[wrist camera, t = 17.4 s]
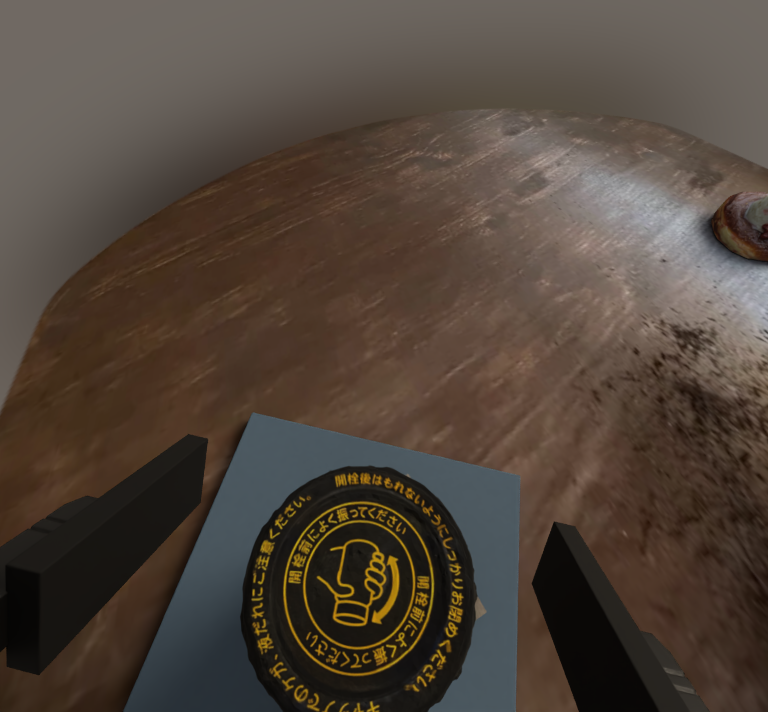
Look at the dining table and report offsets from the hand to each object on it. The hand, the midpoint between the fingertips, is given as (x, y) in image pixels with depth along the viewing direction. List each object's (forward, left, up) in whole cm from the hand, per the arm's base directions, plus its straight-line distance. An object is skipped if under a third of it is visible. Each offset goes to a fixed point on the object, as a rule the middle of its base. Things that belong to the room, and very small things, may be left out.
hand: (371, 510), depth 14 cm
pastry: (+30, +34, -7) cm, 46 cm away
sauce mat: (0, -2, -7) cm, 8 cm away
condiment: (+1, -2, -7) cm, 7 cm away
